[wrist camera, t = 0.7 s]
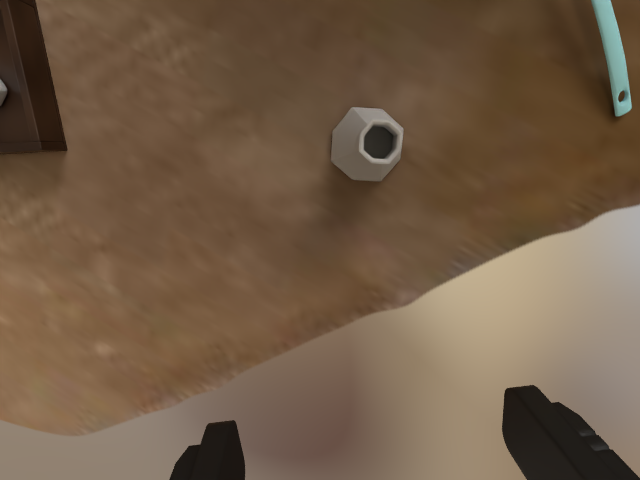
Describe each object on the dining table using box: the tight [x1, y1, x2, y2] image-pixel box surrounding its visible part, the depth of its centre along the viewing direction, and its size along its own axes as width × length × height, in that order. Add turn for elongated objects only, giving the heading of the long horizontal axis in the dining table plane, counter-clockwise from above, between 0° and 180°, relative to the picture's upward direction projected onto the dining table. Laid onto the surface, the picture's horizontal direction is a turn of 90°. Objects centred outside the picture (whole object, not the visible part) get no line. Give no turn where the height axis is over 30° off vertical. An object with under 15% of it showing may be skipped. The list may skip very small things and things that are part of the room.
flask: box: [331, 107, 404, 181], centre depth 30 cm, size 7×7×10 cm
